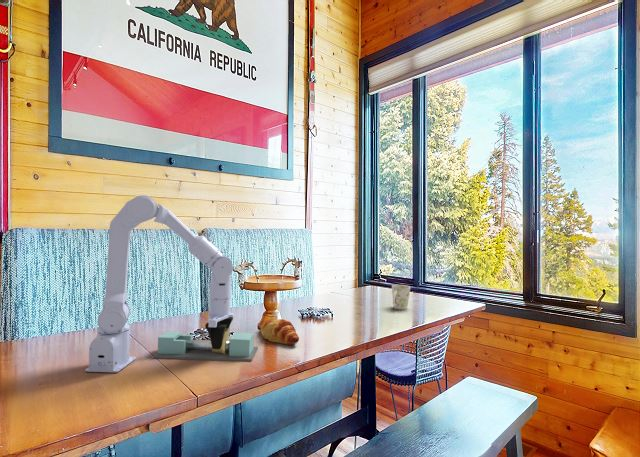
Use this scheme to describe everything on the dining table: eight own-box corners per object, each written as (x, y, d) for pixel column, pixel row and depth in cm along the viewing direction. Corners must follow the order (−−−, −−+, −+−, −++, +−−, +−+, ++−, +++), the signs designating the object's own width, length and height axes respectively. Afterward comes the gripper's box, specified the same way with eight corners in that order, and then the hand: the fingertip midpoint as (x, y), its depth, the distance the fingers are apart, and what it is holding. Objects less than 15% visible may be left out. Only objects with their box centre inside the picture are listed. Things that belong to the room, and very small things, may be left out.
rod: (183, 352, 103) (183, 331, 103) (189, 346, 107) (189, 326, 107) (240, 354, 103) (240, 332, 103) (243, 348, 107) (244, 328, 107)
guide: (153, 358, 100) (153, 339, 100) (168, 345, 110) (169, 328, 110) (251, 361, 100) (251, 342, 100) (257, 348, 110) (258, 331, 110)
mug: (412, 307, 171) (412, 286, 171) (402, 313, 160) (403, 289, 160) (394, 305, 175) (395, 284, 175) (384, 310, 164) (385, 287, 164)
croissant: (255, 342, 127) (245, 323, 125) (277, 324, 133) (268, 305, 130) (290, 359, 111) (280, 338, 108) (314, 338, 116) (304, 317, 114)
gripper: (227, 303, 98) (226, 355, 98) (240, 293, 112) (239, 338, 112) (201, 303, 98) (199, 354, 98) (216, 292, 112) (215, 337, 112)
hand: (219, 345), depth 105 cm, fingers closed on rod, 4 cm apart
